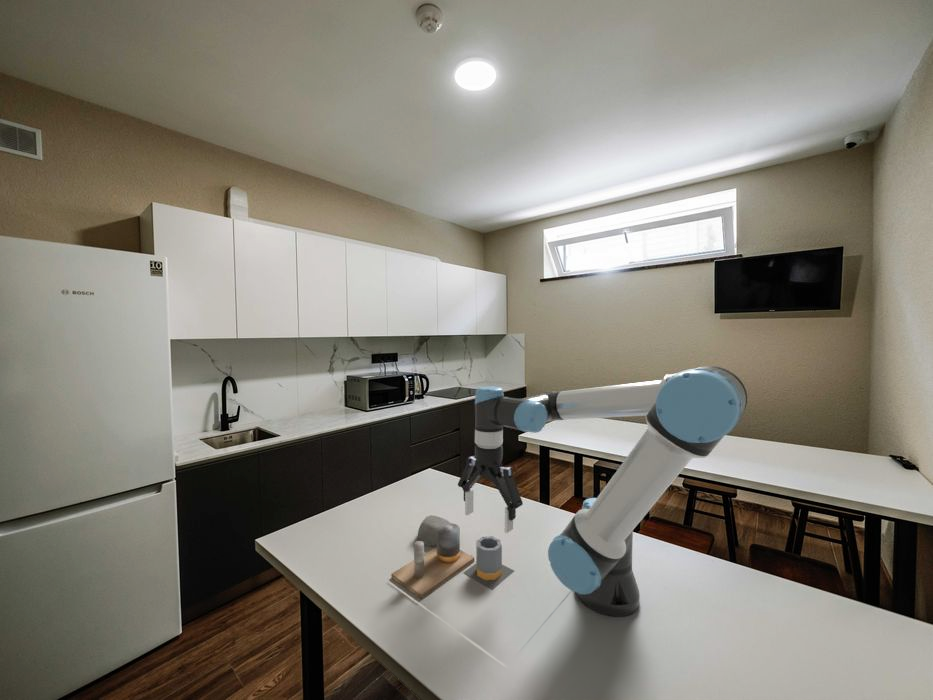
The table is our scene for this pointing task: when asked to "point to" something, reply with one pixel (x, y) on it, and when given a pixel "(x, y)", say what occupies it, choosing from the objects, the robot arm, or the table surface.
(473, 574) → the pad
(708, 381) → the robot arm
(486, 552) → the sleeve
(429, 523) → the stone
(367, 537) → the table surface
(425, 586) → the pin board
